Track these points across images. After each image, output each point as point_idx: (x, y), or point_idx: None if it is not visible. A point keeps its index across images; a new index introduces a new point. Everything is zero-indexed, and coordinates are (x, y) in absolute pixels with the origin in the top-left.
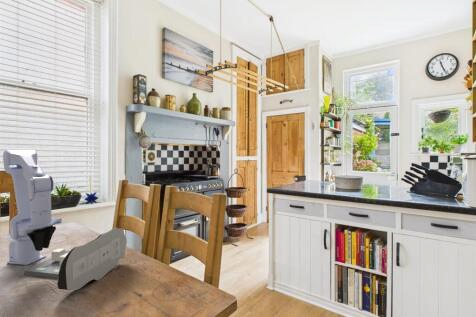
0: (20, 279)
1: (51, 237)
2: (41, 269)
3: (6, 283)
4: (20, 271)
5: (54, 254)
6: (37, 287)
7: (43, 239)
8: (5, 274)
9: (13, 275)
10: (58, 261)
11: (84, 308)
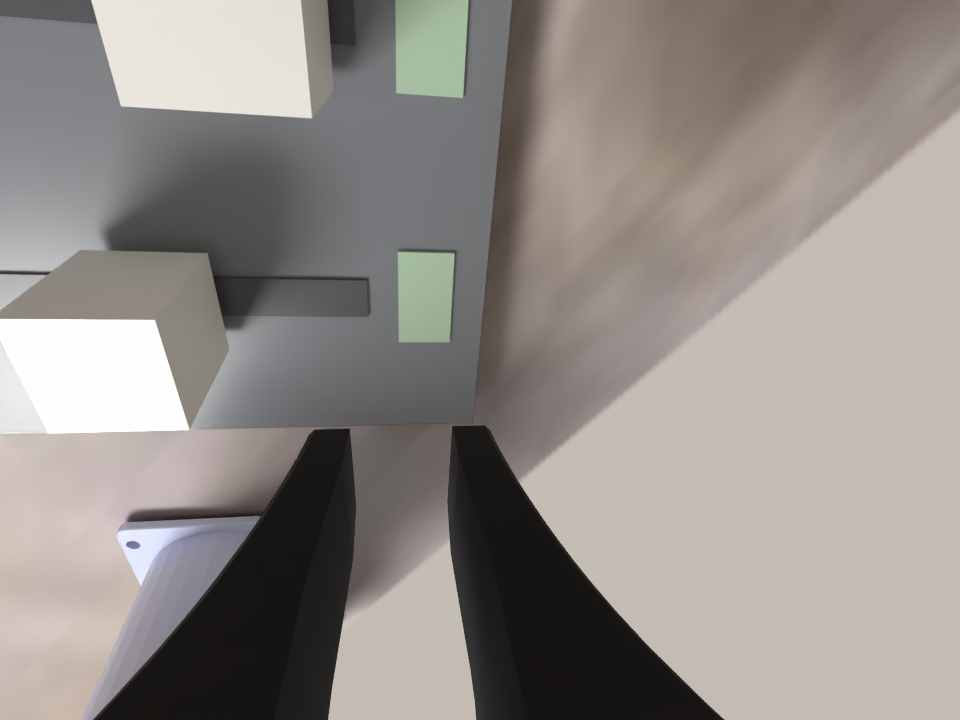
0: (548, 351)
1: (204, 600)
2: (435, 283)
3: (613, 390)
4: (419, 466)
5: (192, 360)
6: (721, 28)
7: (327, 650)
8: None
9: None
10: None
11: None
